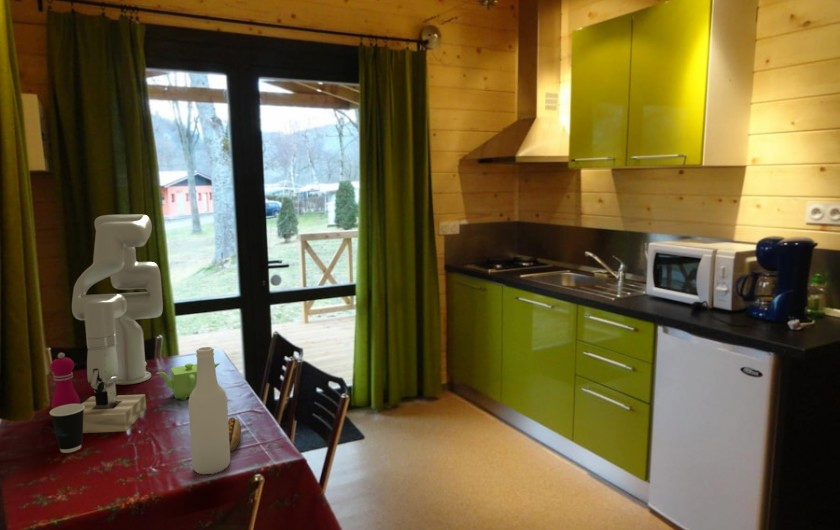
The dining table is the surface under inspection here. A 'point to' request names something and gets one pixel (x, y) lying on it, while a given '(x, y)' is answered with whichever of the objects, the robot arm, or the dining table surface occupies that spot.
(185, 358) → the dining table surface
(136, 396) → the block
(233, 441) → the food
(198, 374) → the alcohol
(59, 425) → the dixie cup
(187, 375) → the teapot
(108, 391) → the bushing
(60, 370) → the pepper mill
